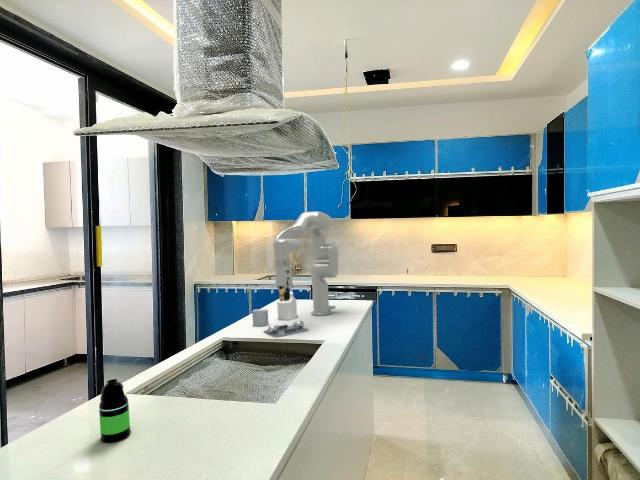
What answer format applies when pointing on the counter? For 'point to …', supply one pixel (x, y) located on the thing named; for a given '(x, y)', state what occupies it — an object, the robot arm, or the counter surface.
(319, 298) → the robot arm
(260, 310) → the medicine box
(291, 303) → the jar
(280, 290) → the cylinder
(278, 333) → the shaft bench
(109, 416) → the bottle
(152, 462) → the counter surface
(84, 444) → the counter surface
